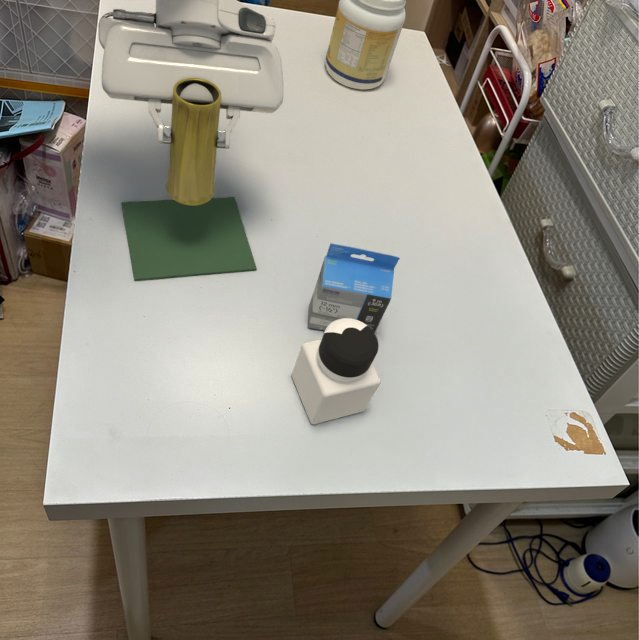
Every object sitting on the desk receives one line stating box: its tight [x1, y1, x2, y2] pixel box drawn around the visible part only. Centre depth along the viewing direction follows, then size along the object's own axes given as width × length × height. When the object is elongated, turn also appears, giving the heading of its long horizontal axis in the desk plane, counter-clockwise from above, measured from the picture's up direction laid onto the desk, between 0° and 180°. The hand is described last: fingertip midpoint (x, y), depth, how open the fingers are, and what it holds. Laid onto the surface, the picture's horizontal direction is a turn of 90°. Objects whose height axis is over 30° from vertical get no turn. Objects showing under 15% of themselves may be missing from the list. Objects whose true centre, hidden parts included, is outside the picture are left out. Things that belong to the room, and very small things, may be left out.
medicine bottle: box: [291, 318, 382, 425], centre depth 68 cm, size 7×7×12 cm
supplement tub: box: [325, 0, 407, 91], centre depth 111 cm, size 12×12×17 cm
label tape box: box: [307, 242, 401, 334], centre depth 75 cm, size 9×4×12 cm, turn 87°
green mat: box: [120, 196, 258, 282], centre depth 83 cm, size 16×14×1 cm
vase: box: [165, 78, 221, 206], centre depth 71 cm, size 6×6×14 cm
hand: (194, 145), depth 70 cm, fingers closed on vase, 5 cm apart
